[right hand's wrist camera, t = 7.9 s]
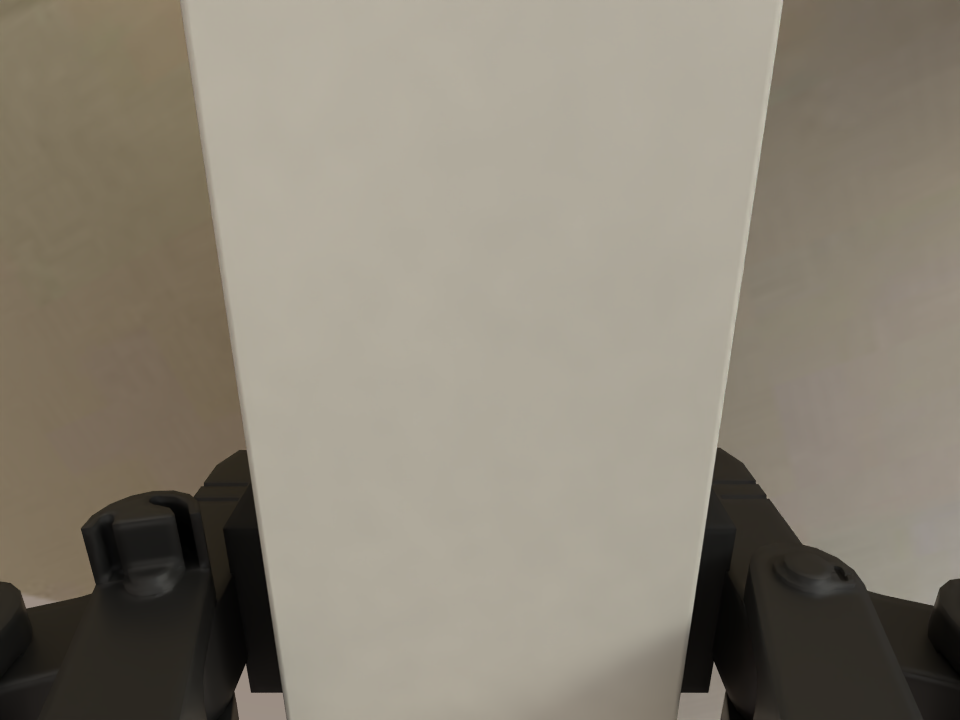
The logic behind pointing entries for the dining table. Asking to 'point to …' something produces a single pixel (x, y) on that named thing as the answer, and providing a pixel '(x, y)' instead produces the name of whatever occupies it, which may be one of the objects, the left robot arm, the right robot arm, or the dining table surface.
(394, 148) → the bar
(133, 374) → the dining table surface
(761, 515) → the right robot arm
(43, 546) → the dining table surface
